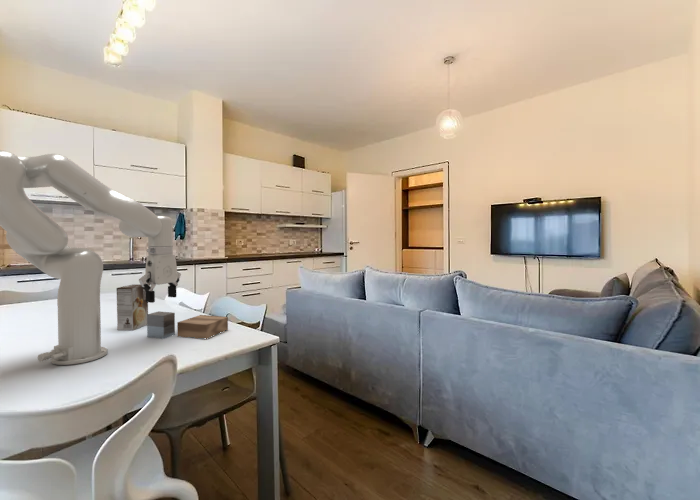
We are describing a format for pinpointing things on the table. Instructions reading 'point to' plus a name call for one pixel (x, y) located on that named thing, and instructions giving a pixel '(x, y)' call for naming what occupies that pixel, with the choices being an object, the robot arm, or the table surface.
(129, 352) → the table surface
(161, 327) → the block
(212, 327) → the walnut stand
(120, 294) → the coffee box
